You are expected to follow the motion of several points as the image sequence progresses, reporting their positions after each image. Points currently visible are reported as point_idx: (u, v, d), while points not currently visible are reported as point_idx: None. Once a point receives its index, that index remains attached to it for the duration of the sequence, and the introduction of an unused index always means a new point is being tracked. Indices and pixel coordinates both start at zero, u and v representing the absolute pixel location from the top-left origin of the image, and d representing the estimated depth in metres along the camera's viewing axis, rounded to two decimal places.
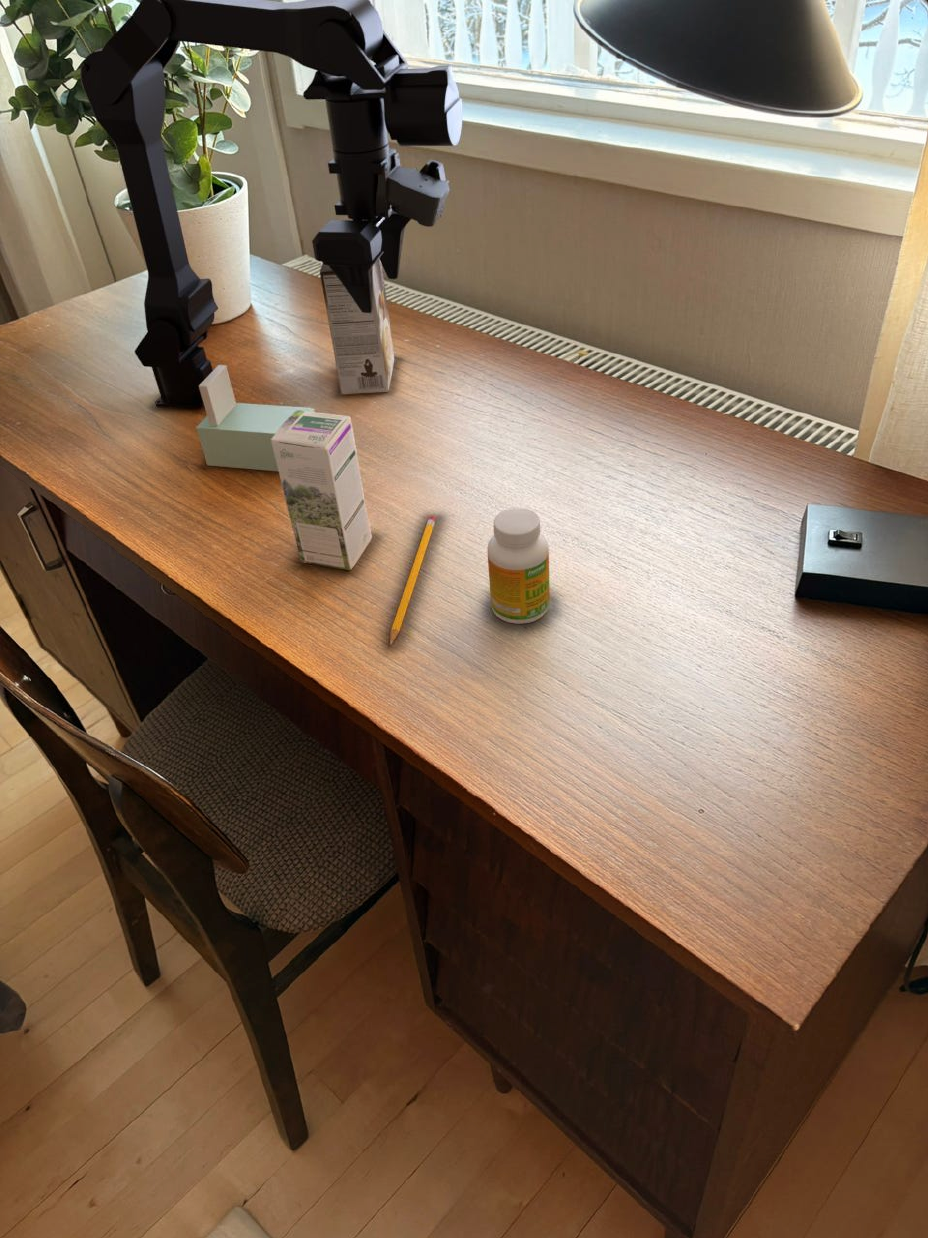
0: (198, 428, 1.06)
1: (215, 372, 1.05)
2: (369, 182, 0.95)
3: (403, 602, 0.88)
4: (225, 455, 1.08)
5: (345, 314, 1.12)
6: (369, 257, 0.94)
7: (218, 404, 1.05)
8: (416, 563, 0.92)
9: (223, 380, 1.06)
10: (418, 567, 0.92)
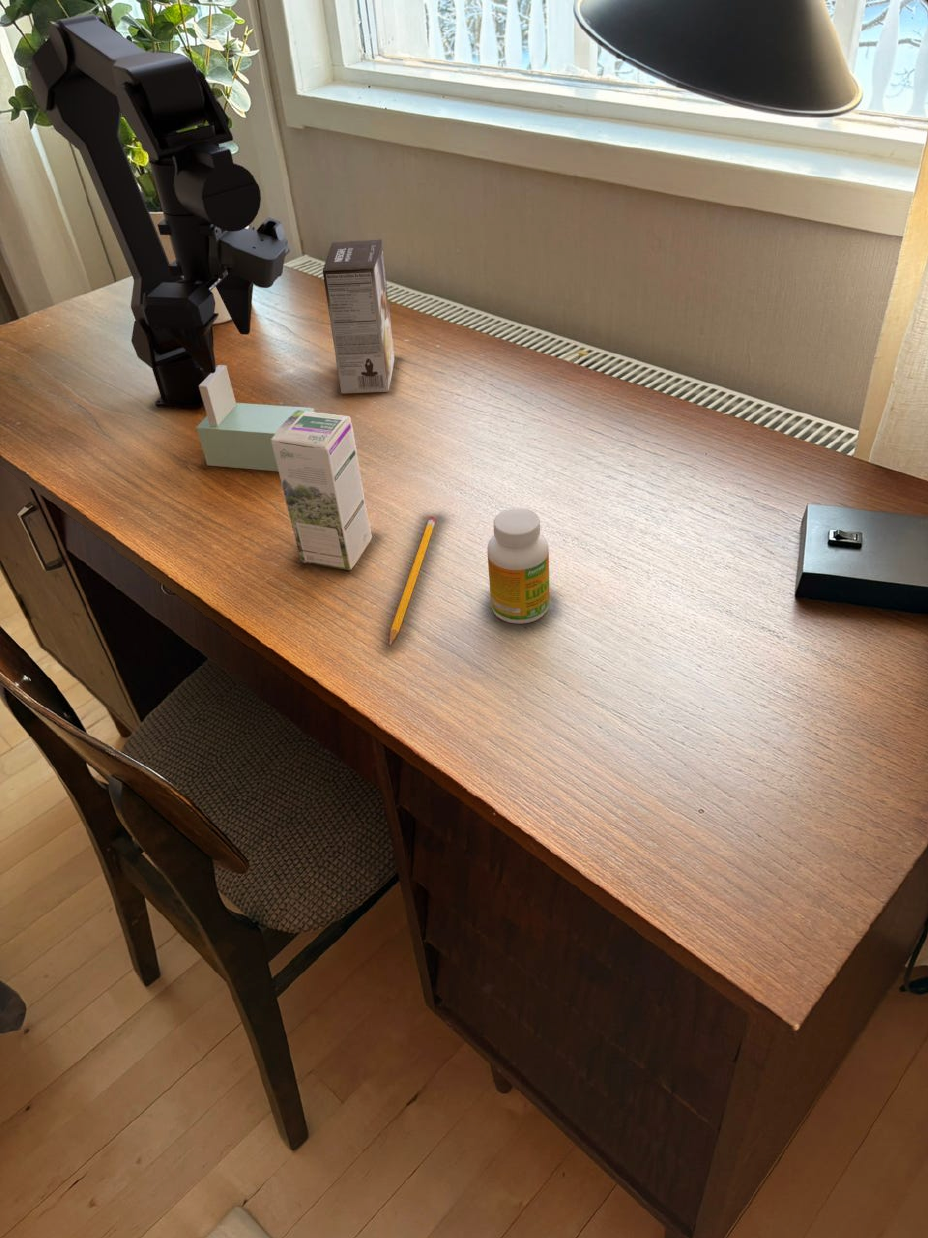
0: (198, 428, 1.06)
1: (215, 372, 1.05)
2: (200, 244, 0.93)
3: (403, 602, 0.88)
4: (225, 455, 1.08)
5: (347, 313, 1.12)
6: (199, 322, 0.91)
7: (218, 404, 1.05)
8: (416, 563, 0.92)
9: (223, 380, 1.06)
10: (418, 567, 0.92)
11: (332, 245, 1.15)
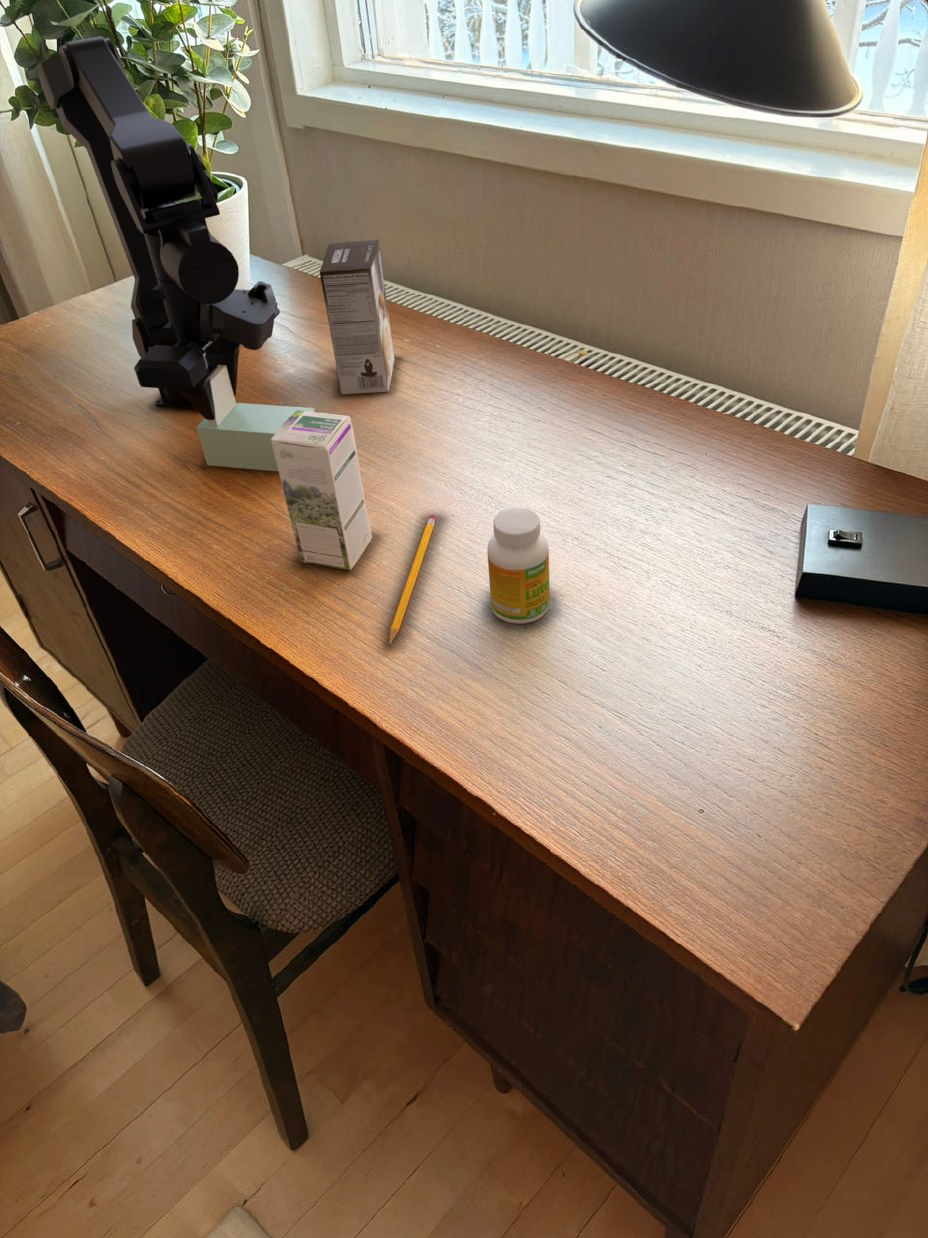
0: (198, 428, 1.06)
1: (215, 372, 1.05)
2: (192, 309, 0.96)
3: (403, 601, 0.88)
4: (225, 455, 1.08)
5: (345, 314, 1.12)
6: (189, 385, 0.95)
7: (218, 404, 1.05)
8: (416, 562, 0.92)
9: (223, 380, 1.06)
10: (418, 566, 0.92)
11: (329, 246, 1.15)
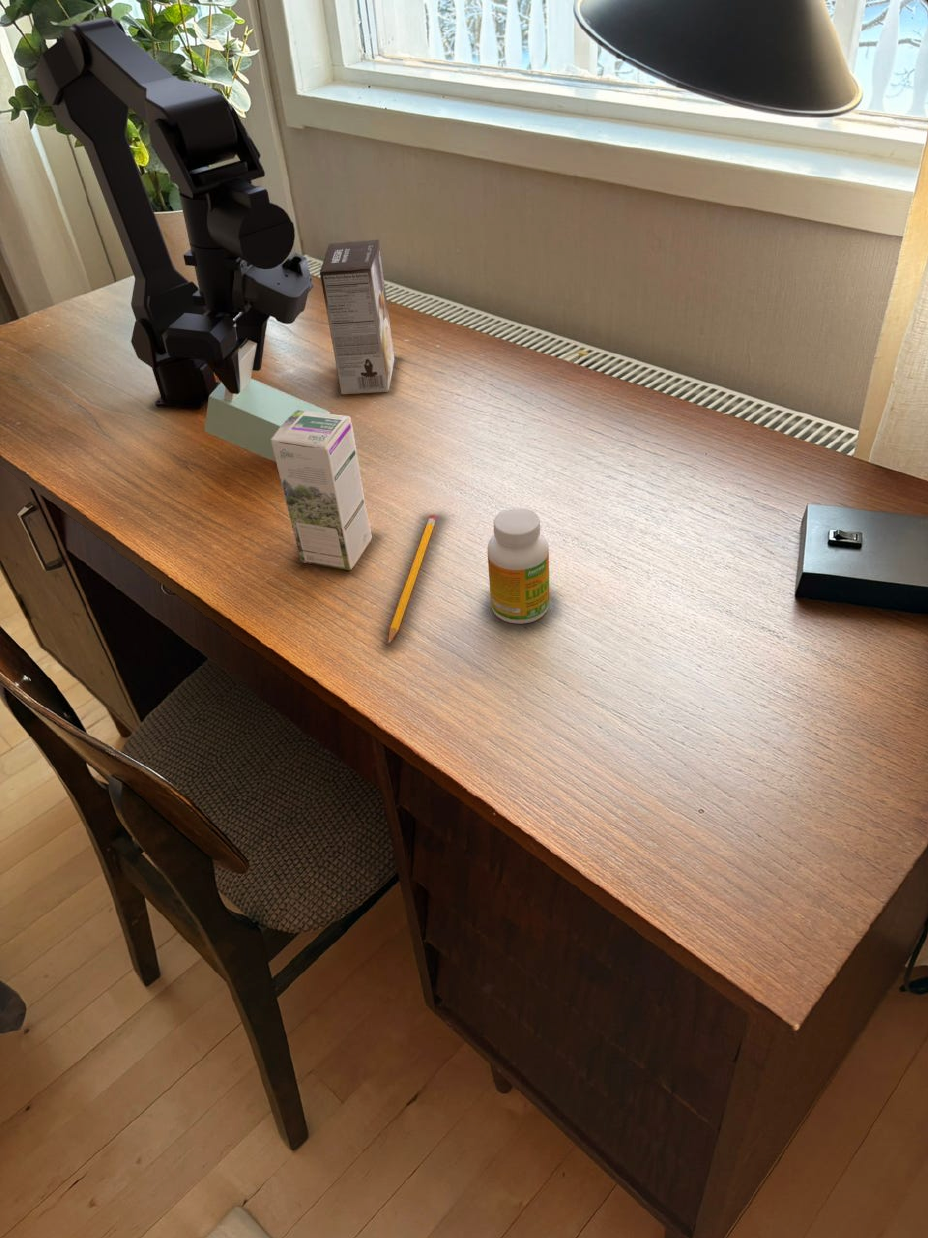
0: (211, 397, 1.03)
1: (246, 349, 1.02)
2: (225, 277, 0.93)
3: (402, 601, 0.88)
4: (229, 430, 1.05)
5: (345, 314, 1.12)
6: (219, 356, 0.92)
7: None
8: (416, 562, 0.92)
9: (250, 358, 1.03)
10: (418, 566, 0.92)
11: (329, 246, 1.15)
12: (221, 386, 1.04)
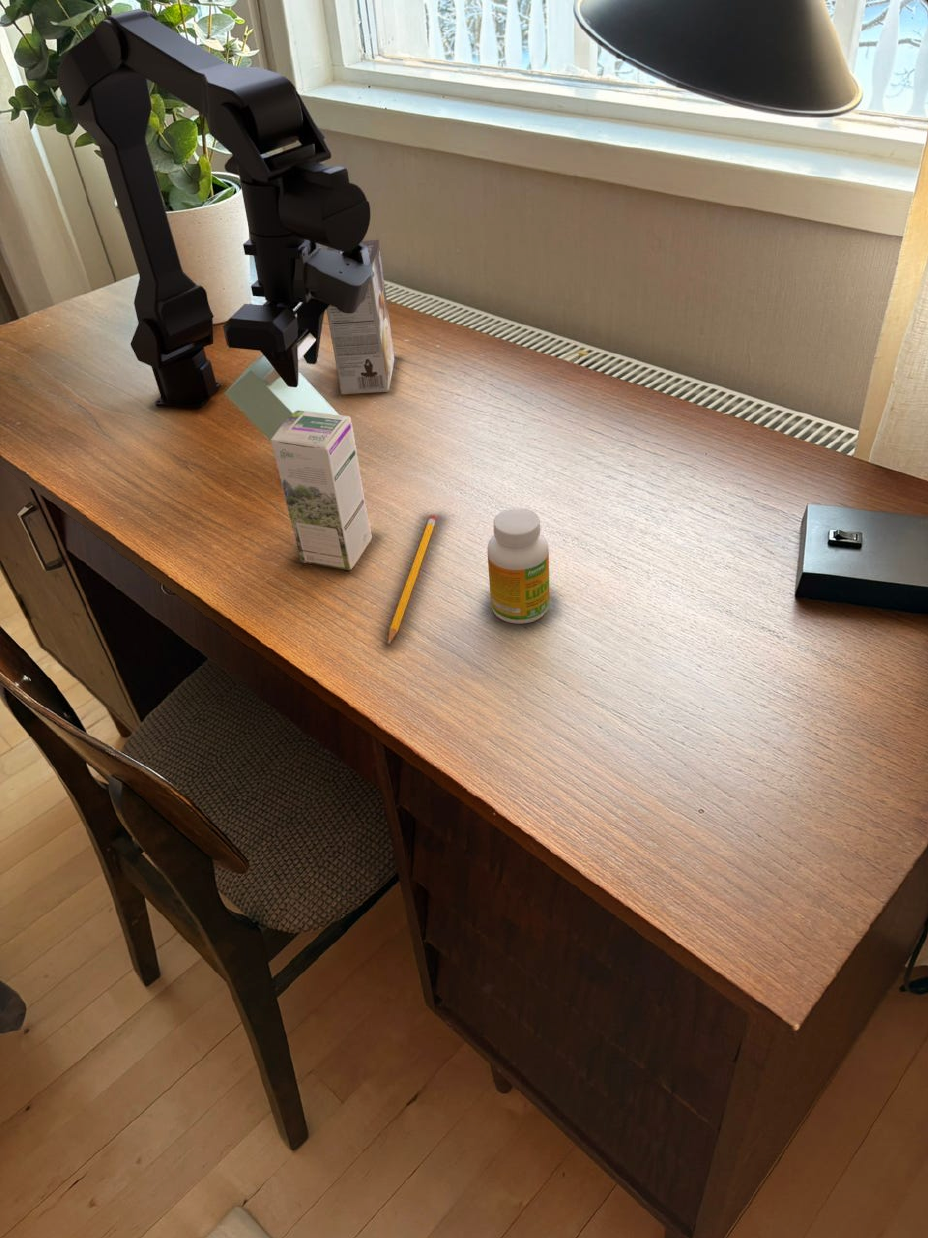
0: (252, 372, 0.99)
1: (307, 343, 0.99)
2: (286, 266, 0.91)
3: (402, 601, 0.88)
4: (251, 405, 1.02)
5: (345, 314, 1.12)
6: (282, 347, 0.89)
7: None
8: (416, 562, 0.92)
9: None
10: (418, 566, 0.92)
11: None
12: (262, 362, 1.01)
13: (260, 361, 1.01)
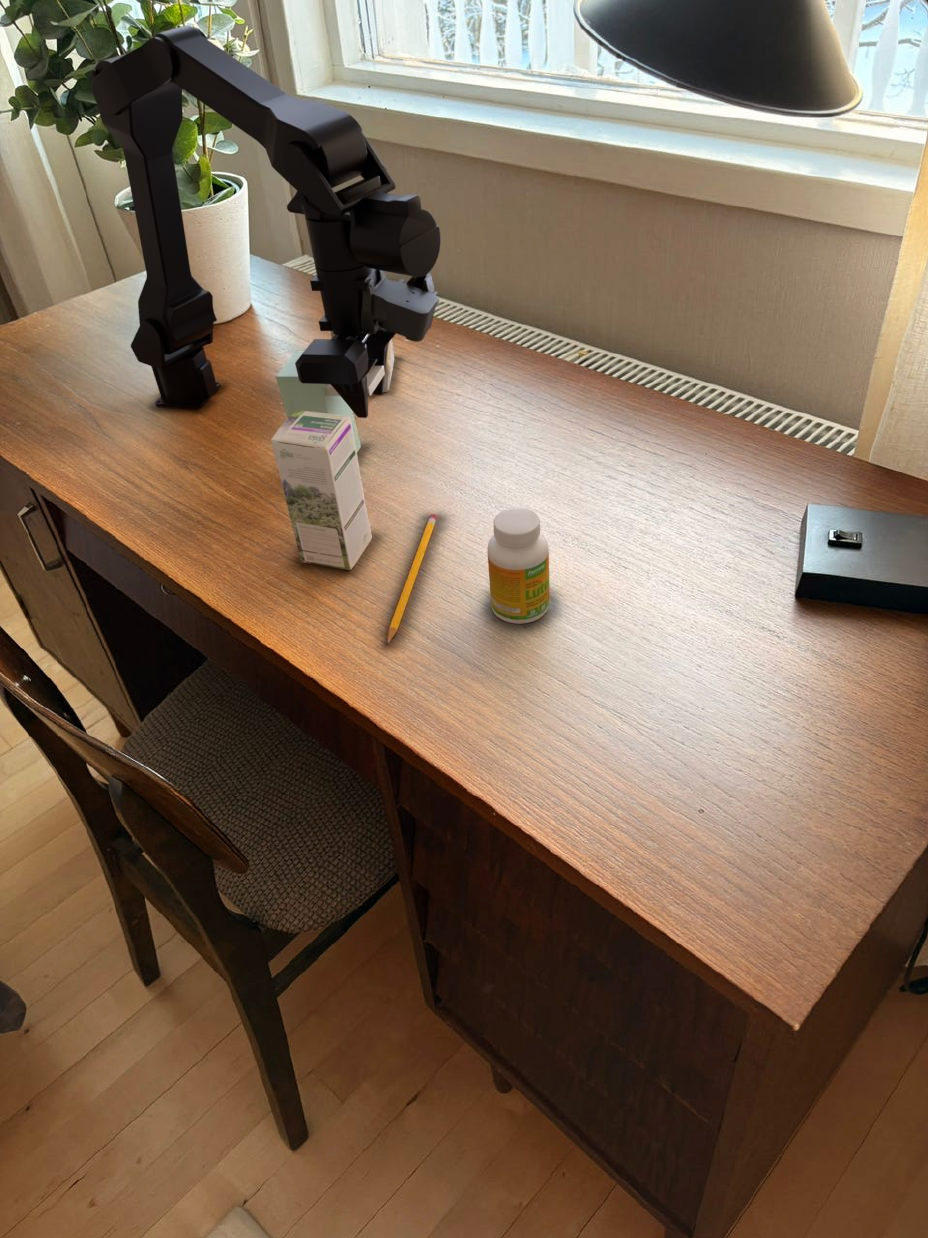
0: None
1: (379, 378, 1.00)
2: (353, 299, 0.91)
3: (402, 600, 0.88)
4: (296, 400, 1.00)
5: None
6: (355, 379, 0.89)
7: None
8: (416, 561, 0.92)
9: None
10: (418, 565, 0.92)
11: None
12: None
13: None
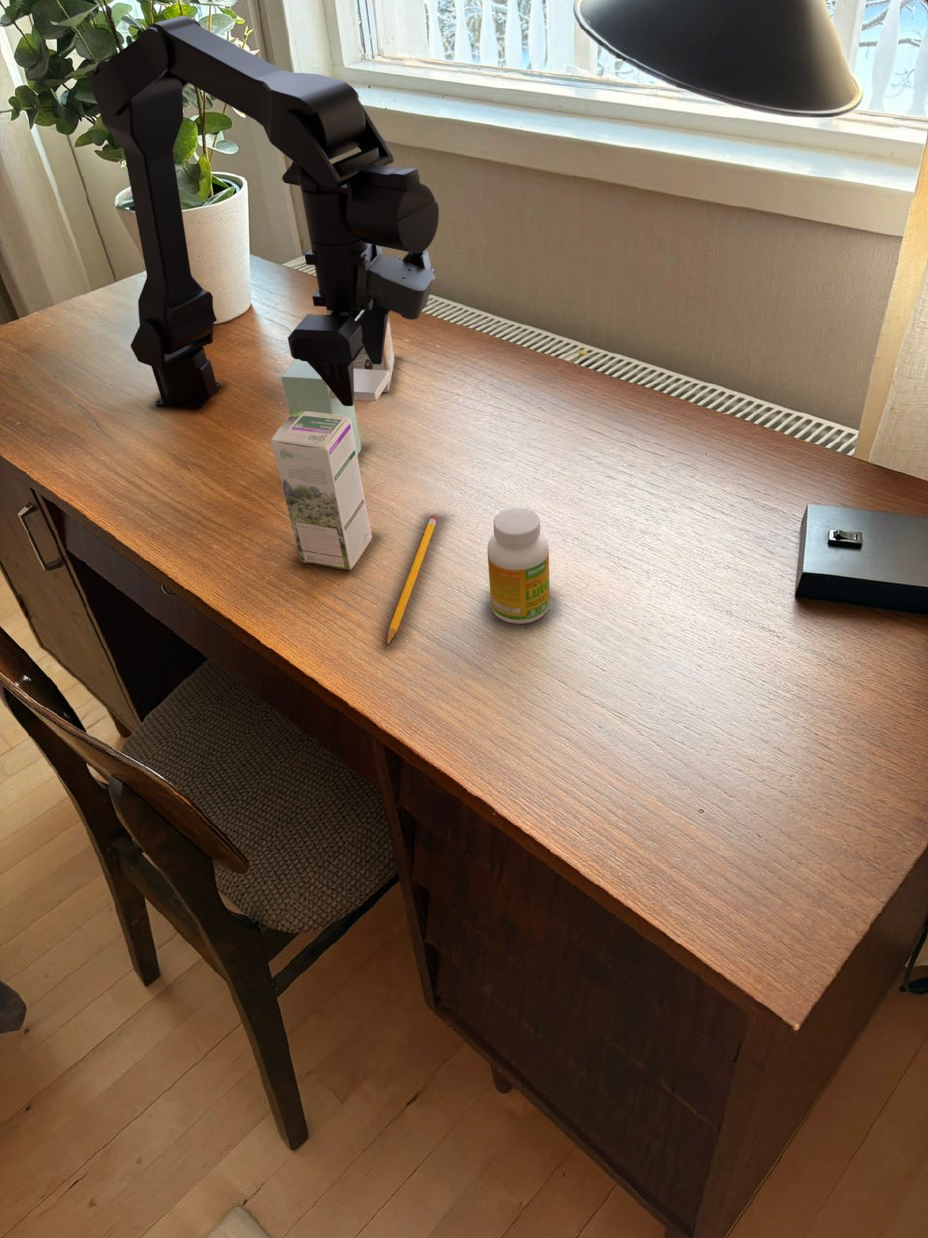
0: None
1: (384, 383, 1.00)
2: (348, 275, 0.90)
3: (402, 601, 0.88)
4: (301, 401, 1.00)
5: None
6: (348, 356, 0.88)
7: None
8: (416, 562, 0.92)
9: None
10: (418, 566, 0.92)
11: None
12: None
13: None
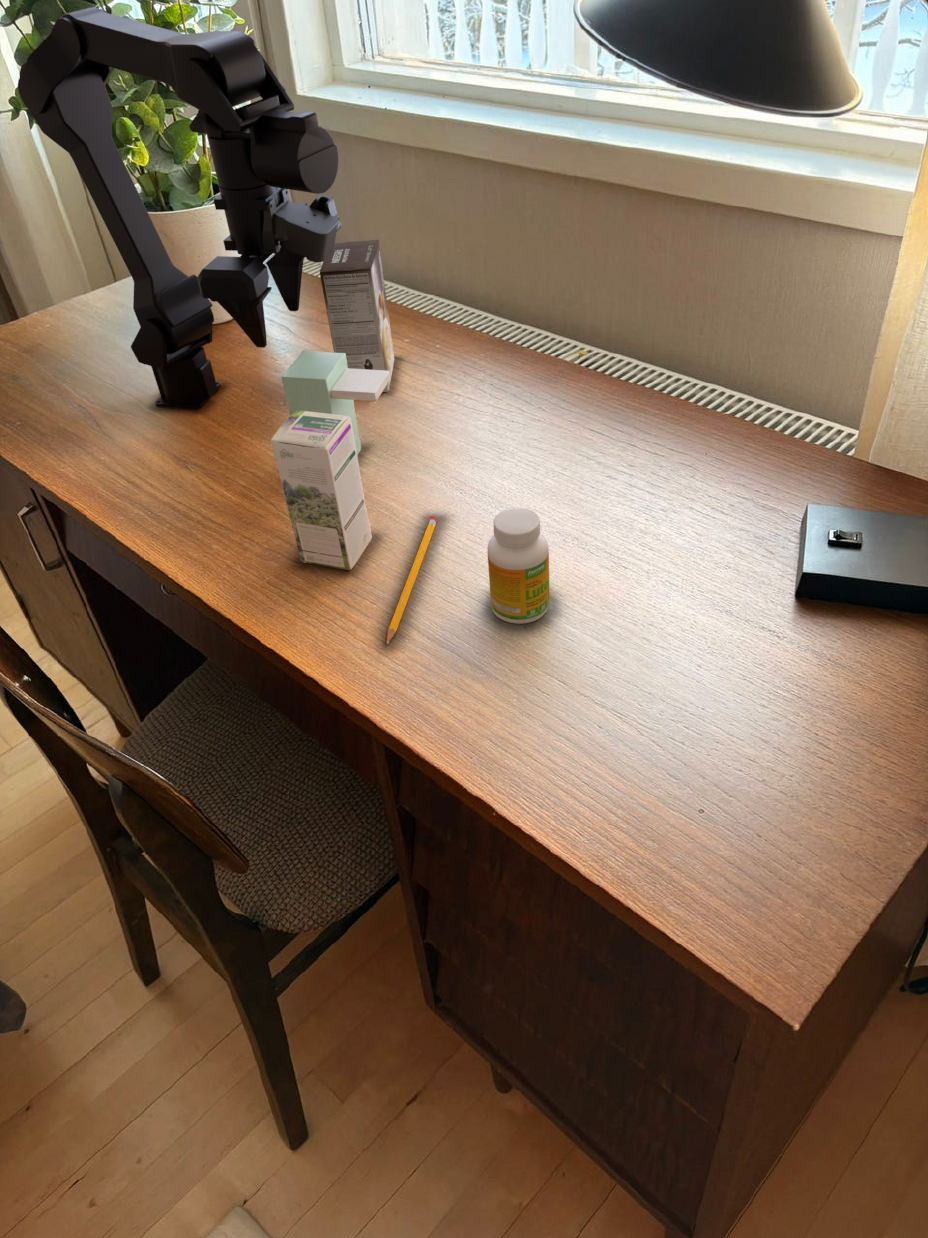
0: (325, 381, 0.98)
1: (384, 383, 1.00)
2: (255, 219, 0.95)
3: (401, 602, 0.88)
4: (301, 401, 1.00)
5: (345, 314, 1.12)
6: (253, 294, 0.93)
7: None
8: (416, 563, 0.92)
9: None
10: (418, 567, 0.92)
11: None
12: (334, 371, 0.99)
13: (333, 370, 0.99)
